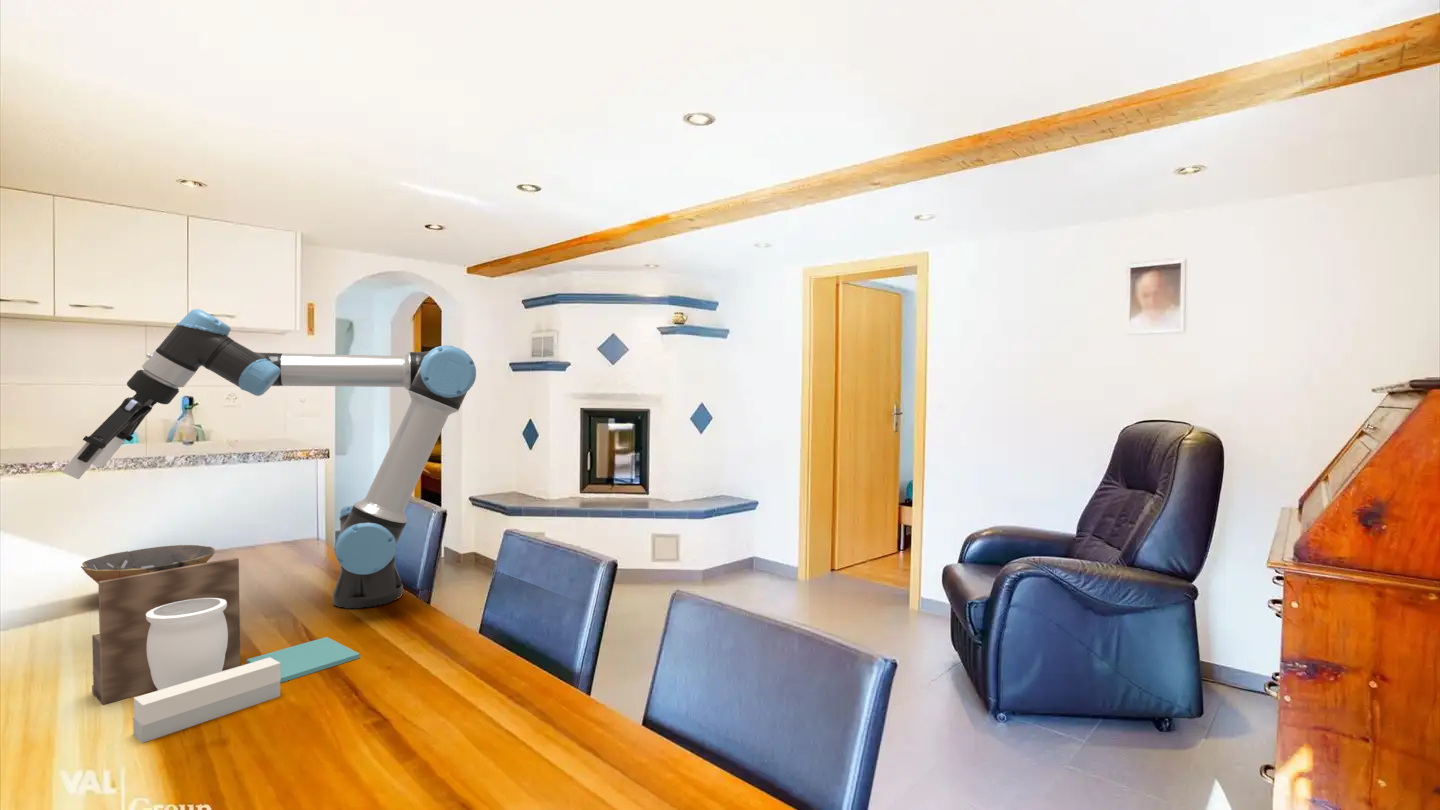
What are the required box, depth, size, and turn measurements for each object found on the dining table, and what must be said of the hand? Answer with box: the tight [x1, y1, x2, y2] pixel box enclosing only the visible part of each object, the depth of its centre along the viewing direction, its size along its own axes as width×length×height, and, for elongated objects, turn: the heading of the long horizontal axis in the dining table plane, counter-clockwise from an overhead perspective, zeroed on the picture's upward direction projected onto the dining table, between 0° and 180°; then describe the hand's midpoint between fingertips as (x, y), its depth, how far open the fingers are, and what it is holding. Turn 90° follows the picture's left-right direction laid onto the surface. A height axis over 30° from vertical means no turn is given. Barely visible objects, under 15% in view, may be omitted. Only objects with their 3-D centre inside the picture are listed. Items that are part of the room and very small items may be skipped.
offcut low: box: [132, 681, 281, 744], centre depth 105 cm, size 18×4×3 cm, turn 145°
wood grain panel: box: [91, 557, 241, 706], centre depth 117 cm, size 19×7×20 cm, turn 144°
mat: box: [245, 636, 361, 684], centre depth 125 cm, size 14×14×1 cm
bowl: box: [80, 544, 216, 584], centre depth 163 cm, size 25×25×10 cm
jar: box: [146, 598, 228, 691], centre depth 111 cm, size 11×10×15 cm
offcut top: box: [133, 657, 281, 725], centre depth 105 cm, size 18×4×3 cm, turn 145°
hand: (82, 469), depth 127 cm, fingers open, 13 cm apart
